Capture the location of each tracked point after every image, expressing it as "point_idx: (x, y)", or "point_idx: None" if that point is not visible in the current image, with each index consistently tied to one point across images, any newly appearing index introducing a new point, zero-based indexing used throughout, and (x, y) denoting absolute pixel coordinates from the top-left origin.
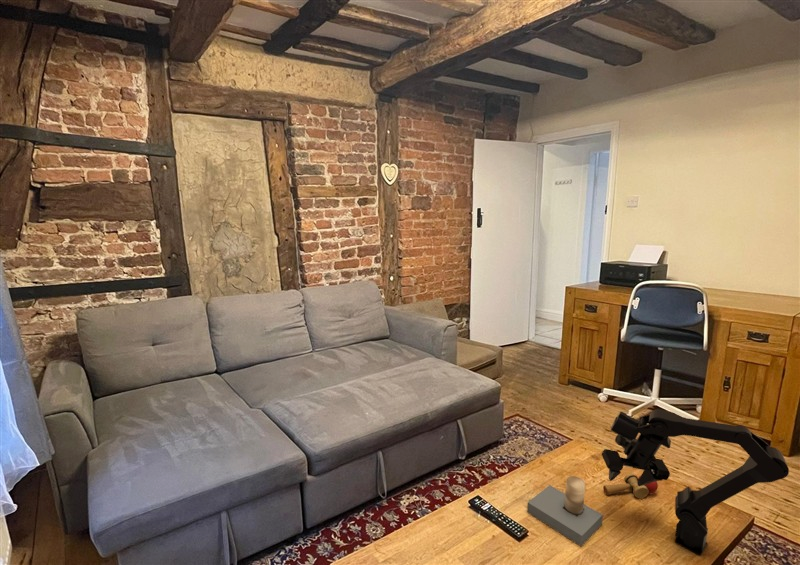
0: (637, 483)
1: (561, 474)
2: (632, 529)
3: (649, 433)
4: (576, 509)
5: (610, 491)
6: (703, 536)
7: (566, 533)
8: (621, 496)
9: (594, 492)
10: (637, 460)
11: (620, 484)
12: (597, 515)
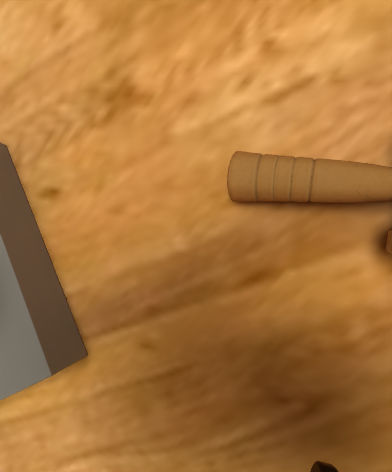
0: (315, 468)
1: (124, 23)
2: (193, 425)
3: None
4: None
5: (246, 198)
6: None
7: None
8: (311, 216)
9: (191, 164)
10: None
11: (337, 172)
12: (25, 371)
